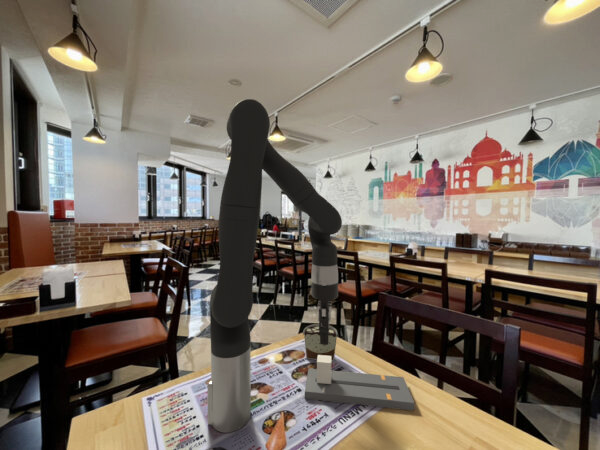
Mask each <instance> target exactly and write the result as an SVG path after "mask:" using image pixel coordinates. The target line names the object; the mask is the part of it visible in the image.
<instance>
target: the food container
mask: <svg viewBox="0 0 600 450" xmlns="http://www.w3.org/2000/svg"><path fill="white" fill-rule="evenodd" d="M302 336H304V338H303V339H304V345H305V347H304V348H305V354H306V355H305V357H306V360H315V359H317V357H318V355H326V356H331V362H334V361H335V355H336V354H335V353H336V345H337V338H338V339H339V333H338V330H337V329H336V328H335V327H333V326H332V325H329V332H328V345H322V344H320V332H319V323H315V324H310V325H308V326H305V328H304V329H303V331H302Z"/></svg>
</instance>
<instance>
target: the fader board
mask: <svg viewBox="0 0 600 450" xmlns="http://www.w3.org/2000/svg"><path fill="white" fill-rule="evenodd" d="M306 375H307V376H306V382H305V387H304V399H305V400H314V401H315V400H317V401H324V402H335V403H340V404H351V405H359V404H361V406H368V405H369V406H371V407H379V408H385V409H387V408H388V409H396V410H405V411H413V412H414V411H415V401H414V399H413V396H412V394H411V392H410V389H409V387H408V384H407V382H406V380H405V377H404V376H397V375H396V376H395V375H383V374H372V373H362V372H361V373H360V372H351V371H341V370H340V371H339V370H332V369H331V384H324V383H317V368H309V367H308V371H307V374H306Z"/></svg>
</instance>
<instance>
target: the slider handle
mask: <svg viewBox="0 0 600 450" xmlns="http://www.w3.org/2000/svg"><path fill="white" fill-rule="evenodd" d="M316 369H317V383H324V384H331V370H332V361H331V356H326V355H318V357H317V360H316Z"/></svg>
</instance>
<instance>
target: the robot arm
mask: <svg viewBox="0 0 600 450" xmlns="http://www.w3.org/2000/svg"><path fill="white" fill-rule="evenodd" d="M270 128H271V121H270V116H269V114H268V111H267V109H266V108H265V107H264V105H263V104H262V103H261V102H259V101H258V100H257V99H253V98H245V99H242V100H240V101H239V102H237V103H236V104H235V105H234V106H233V108H232V109H231V110H230V113H229V116H228V118H227V122H226V132H227V136H228V137H229V139H230V142H231V143H230V158H229V164H228V168H227V172H226V176H225V179H224V182H223V187H222V192H221V196H220V197H221V198H220V204H219V213H218V214H219V215H218V249H219V250H218V251H219V268H218V269H219V270H218V275H217V282H216V285H215V286H214V288H213V289H212V291H211V293H210V297H209V299H210V300H209V309H210V310H209V315H210V318H209V319H210V320H209V321H210V325H209V326H210V335H209V336H210V380H209V382H208V383H207V424H208V425H211V426H212V427H213V429H214V430H216V431H217V432H220V433H225V434H226V433H227V434H228V433H233V432H235V431H238V430H240V429H242V428H243V427H244V426H245V425H246V424H247V423H248V422H249V420H250V419H251V418H250V417H251V413H252V412H251V408H252V405H251V404H252V402H251V401H252V400H251V397H252V396H251V395H252V394H251V393H252V390H251V388H252V387H251V386H252V384H251V383H252V379H251V378H252V377H251V376H252V375H251V373H252V372H251V370H252V367H251V365H252V364H251V361H252V359H251V357H252V356H251V353H252V351H251V347H252V346H251V344H252V343H251V339H252V338H251V330H250V323H249V316H250V315H251V312H252V310H253V305H254V304H253V302H254V299H253V298H254V296H253V295H254V294H253V267H254V258H255V253H256V247H257V242H258V241H257V239H258V234H259V233H258V231H259V225H260V215H261V201H262V200H261V199H262V186H263V184H262V183H263V171H264V172H265V173H266V175H268V176H269V178H270V179H271V180H272V181H273V182H274V183H275V184H276V185H277V186H278V188H279V189H280V190H281V191H282V192H283V194H284V195H285V196H286V197H287V199H288V200H289V201H290V202H291V203H292V204H293V205H294V207H295V208H297V210H298V211H300V212H302V213H304V214H306V215H307V216H308V217H309V218H308V220H307V221H308V222H307V229H308V235H309V239H310V240H309V241H310V245H311V249H312V250H311V251H312V252H311V259H312V260H311V263H312V264H311V280H310V281H311V296H312V298H314V299H316V300H318V301H317V321H318V324H319V332H320V344H322V345H328V332H329V326H330V323H331V321H332V317H331V316H332V315H331V314H332V311H333V308H332V306H333V300H335V299H337V298H338V297H339V269H338V248H337V245H336V244H335V243H334V242H333V241H332V239H331V238H332V237H331V235H332V236H333V235H336V234H337V233H338V232H339V231H340V230H341V229H342V226H343V221H342V220H343V219H342V217H341V214H340V212H339V211H338V209H337V208H336V207H335V206H334V205H333V204H331V203H330V202H329V201H328V200H327V199H326V198H325V197H323V196H322V195H320V193H318V191H317V189H316V188H315V187H314V186H313V184H312V183H311V182H310V181H309V179H308V178H307V177H306V176H305V174H303V173H302V171H300V170H299V169H298V168H297V167H296V166H294V165H293V164H292V163H291V162H289V161H288V160H287V159H285V158H284V157H283V156H282V155H281V154H280V153H279V152H278V151H277V150H276V149H275V147H273V145H272V144H271V142H270V141H269V139H268V137H269V133H270ZM331 300H332V301H331Z"/></svg>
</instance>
